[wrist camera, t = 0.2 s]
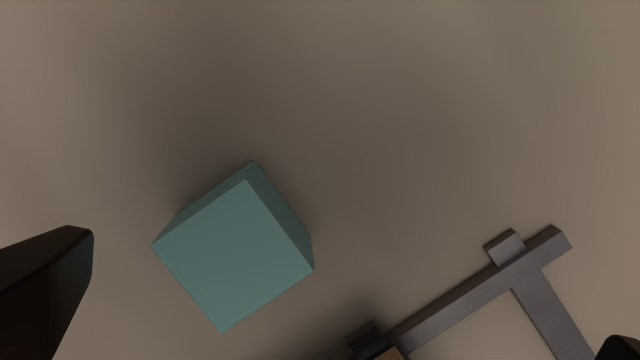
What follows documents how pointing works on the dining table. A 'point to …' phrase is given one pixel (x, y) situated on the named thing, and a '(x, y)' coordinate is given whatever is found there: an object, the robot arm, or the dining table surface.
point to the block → (236, 247)
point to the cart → (392, 355)
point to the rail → (505, 273)
